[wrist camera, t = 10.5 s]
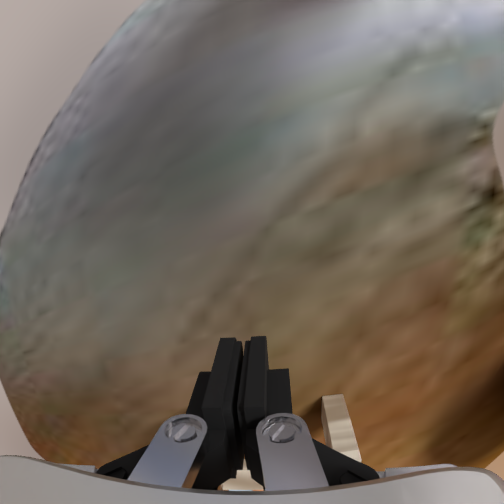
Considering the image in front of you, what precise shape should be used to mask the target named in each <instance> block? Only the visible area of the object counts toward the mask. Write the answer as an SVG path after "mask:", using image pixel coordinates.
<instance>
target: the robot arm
mask: <svg viewBox="0 0 504 504" xmlns="http://www.w3.org/2000/svg"><path fill="white" fill-rule="evenodd" d="M244 455H245V461H246V467H247V470H250V473H251V478H252V479H253V480H255V481H256V482H257V483H259V484H260V485H261V486H263V491H223V483H224V482H226V481H227V480H229V479H236V475H237V470H243V462H244ZM0 504H504V480H502V478H500V477H499V476H498V475H497V474H495V473H493V472H492V471H489V470H486V469H483V468H476V467H457V466H454V465H452V464H439V465H429V466H418V467H403V468H386V470H385V472H376V471H375V470H374V469H372V468H371V467H369V466H367V465H365V464H363V463H361V462H359V461H356V460H354V459H352V458H350V457H348V456H346V455H344V454H342V453H340V452H338V451H336V450H334V449H332V448H330V447H328V446H326V445H324V444H322V443H320V442H318V441H316V440H314V439H312V438H311V435H310V432H309V430H308V427H307V424H306V423H305V421H304V420H303V419H302V418H300V417H299V416H296V415H294V414H292V402H291V391H290V379H289V369H273V370H269V365H268V353H267V340H266V336H256V337H251V341H246V342H245V349H244V356H243V348H242V342H241V341H236V338H220V341H219V345H218V349H217V352H216V356H215V360H214V363H213V367H212V370H211V372H200V373H199V375H198V378H197V381H196V384H195V387H194V390H193V393H192V396H191V399H190V403H189V406H188V409H187V412H186V414H182V415H176V416H174V417H171V418H169V419H168V420H166V421H165V422H164V423H163V424H162V425H161V427H160V428H159V430H158V432H157V433H156V435H155V436H154V438H153V440H152V441H151V443H150V444H149V445H147V446H145V447H143V448H141V449H139V450H137V451H135V452H132V453H130V454H128V455H126V456H123V457H121V458H119V459H116V460H114V461H112V462H109V463H107V464H105V465H103V466H102V467H100V468H99V469H97V468H96V467H95V466H86V465H69V464H57V463H53V462H49V461H45V460H41V459H36V458H31V457H25V456H17V455H15V456H14V455H13V456H12V455H4V456H0Z"/></svg>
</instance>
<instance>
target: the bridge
mask: <svg viewBox="0 0 504 504" xmlns="http://www.w3.org/2000/svg"><path fill="white" fill-rule="evenodd" d="M321 419H322V425H323V430H324V436H325V441H326V446H328V447H330V448H332V449H334V450H336V451H338V452H340V453H342V454H344V455H346V456H348V457H350V458H352V459H354V460H356V461H359V462H361V461H362V460H361V456H360V452H359V449H358V445H357V442H356V438H355V434H354V431H353V427H352V424H351V420H350V417H349V413H348V410H347V407H346V403H345V400H344V396H343V394H338V395H329V396H322V413H321ZM223 489H225V490H263V486H261V485H260V484H259V483H257V482H256V481H255V480H253V479H252V478H251V473H250V470H247V467H246V461H245V459H244V462H243V470H237V475H236V479H229V480H227V481H226V482H224V483H223Z"/></svg>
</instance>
